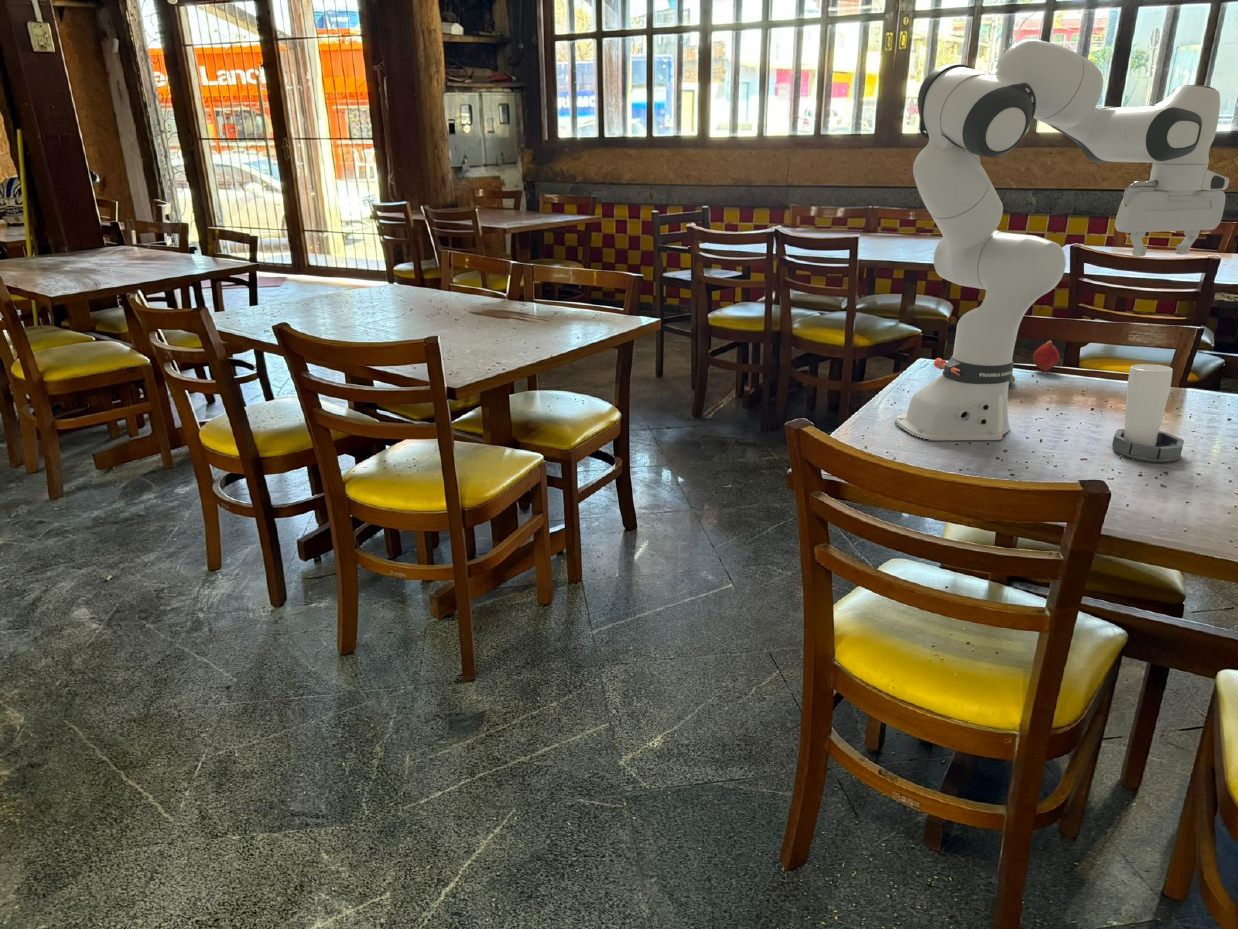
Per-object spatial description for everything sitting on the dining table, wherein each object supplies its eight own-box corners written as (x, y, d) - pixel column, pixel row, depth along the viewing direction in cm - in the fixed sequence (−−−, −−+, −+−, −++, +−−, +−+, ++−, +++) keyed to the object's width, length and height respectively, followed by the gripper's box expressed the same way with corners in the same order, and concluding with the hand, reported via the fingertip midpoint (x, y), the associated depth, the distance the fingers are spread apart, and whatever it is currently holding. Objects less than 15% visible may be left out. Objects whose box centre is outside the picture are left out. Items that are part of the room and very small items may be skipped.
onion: (1027, 371, 211) (1033, 340, 209) (1035, 367, 215) (1040, 336, 212) (1052, 376, 208) (1058, 344, 205) (1059, 371, 212) (1065, 340, 209)
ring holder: (1140, 465, 153) (1144, 450, 152) (1099, 445, 163) (1102, 430, 162) (1194, 461, 154) (1198, 446, 153) (1149, 441, 164) (1152, 426, 163)
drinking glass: (1160, 452, 154) (1174, 372, 150) (1118, 448, 158) (1130, 369, 153) (1159, 443, 160) (1172, 365, 155) (1118, 439, 163) (1130, 363, 159)
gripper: (1139, 182, 153) (1123, 259, 158) (1237, 179, 156) (1219, 255, 161) (1115, 180, 159) (1100, 254, 164) (1210, 177, 162) (1193, 251, 167)
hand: (1160, 255), depth 163 cm, fingers open, 8 cm apart
